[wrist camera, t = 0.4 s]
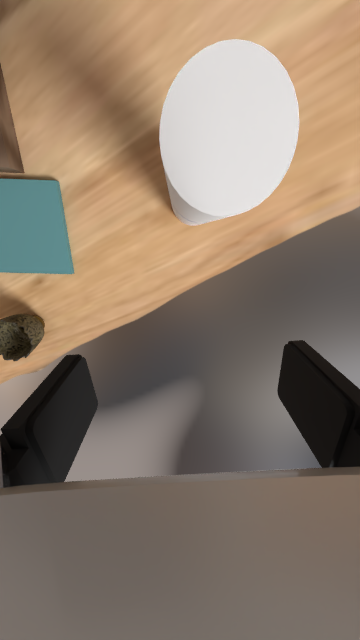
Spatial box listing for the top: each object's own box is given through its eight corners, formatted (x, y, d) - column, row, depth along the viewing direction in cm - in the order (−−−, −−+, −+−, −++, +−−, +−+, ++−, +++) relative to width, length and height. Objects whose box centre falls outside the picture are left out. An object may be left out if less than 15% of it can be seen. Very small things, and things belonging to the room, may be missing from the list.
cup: (43, 300, 40) (13, 315, 33) (63, 333, 43) (39, 354, 35) (9, 311, 41) (-28, 329, 33) (31, 342, 44) (1, 365, 36)
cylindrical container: (172, 225, 35) (162, 217, 12) (170, 175, 32) (155, 39, 9) (214, 225, 35) (285, 215, 12) (216, 174, 32) (314, 38, 9)
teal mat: (-34, 178, 32) (-40, 177, 31) (58, 182, 33) (55, 180, 32) (-5, 271, 38) (-10, 272, 37) (74, 273, 38) (71, 274, 37)
